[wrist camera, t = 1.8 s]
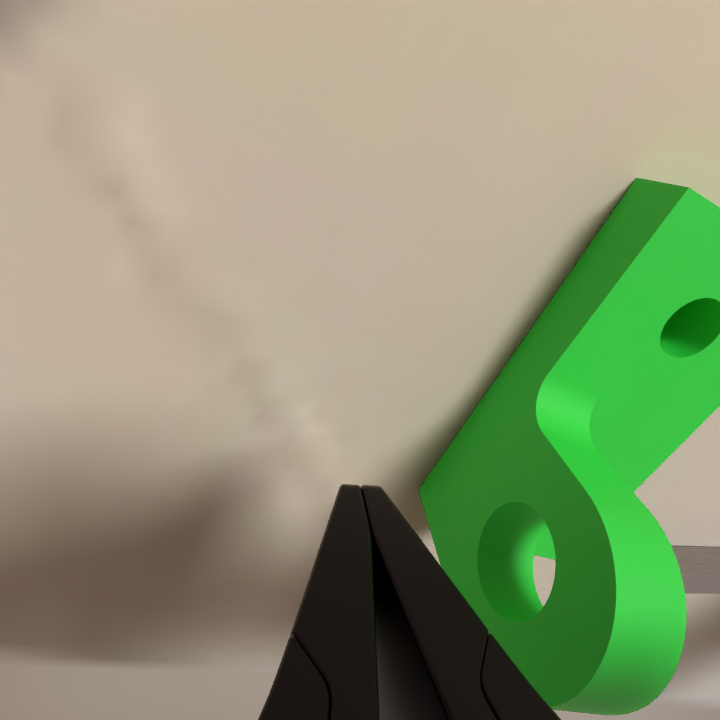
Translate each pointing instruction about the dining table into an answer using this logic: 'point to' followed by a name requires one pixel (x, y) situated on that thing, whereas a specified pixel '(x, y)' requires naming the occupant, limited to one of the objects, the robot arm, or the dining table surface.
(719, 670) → the dining table surface
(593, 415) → the mechanical part
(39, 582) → the dining table surface
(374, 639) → the robot arm
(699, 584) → the u-shaped frame
